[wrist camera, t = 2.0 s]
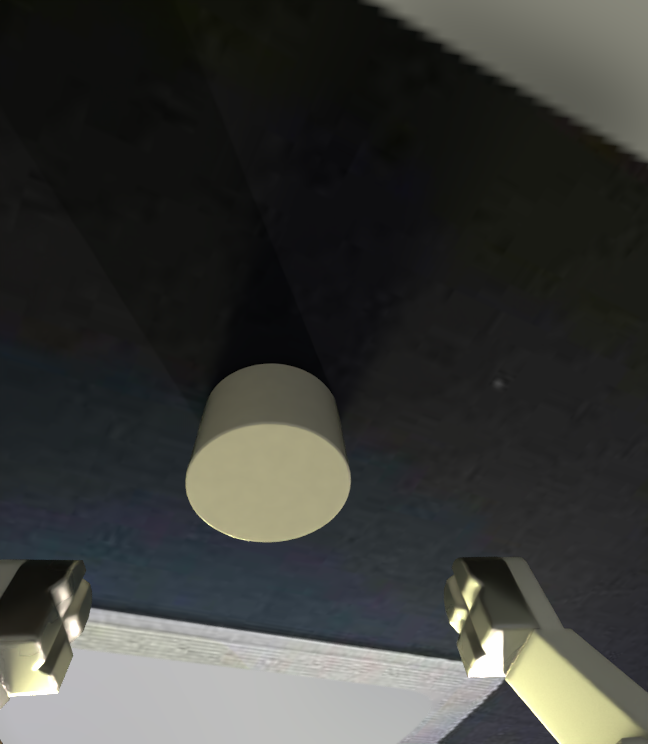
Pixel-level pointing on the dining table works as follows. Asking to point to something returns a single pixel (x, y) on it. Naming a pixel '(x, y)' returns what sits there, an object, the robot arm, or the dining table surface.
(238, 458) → the white cylinder
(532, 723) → the dining table surface
